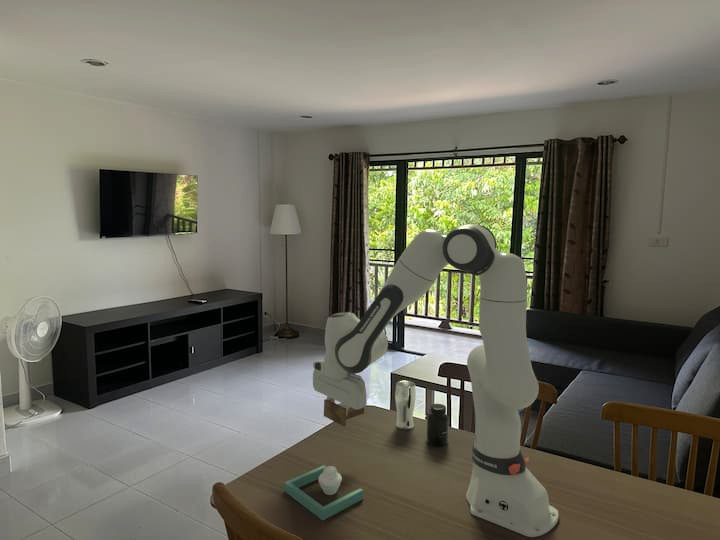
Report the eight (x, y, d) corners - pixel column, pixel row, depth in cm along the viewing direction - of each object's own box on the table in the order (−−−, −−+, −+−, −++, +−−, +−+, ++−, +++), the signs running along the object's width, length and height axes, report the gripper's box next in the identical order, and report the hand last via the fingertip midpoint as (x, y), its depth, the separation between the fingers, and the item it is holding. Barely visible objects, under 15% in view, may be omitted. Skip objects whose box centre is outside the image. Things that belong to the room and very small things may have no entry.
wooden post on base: (371, 416, 145) (371, 400, 144) (343, 426, 137) (344, 409, 137) (350, 407, 151) (351, 391, 151) (323, 416, 144) (324, 399, 143)
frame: (363, 499, 125) (363, 490, 125) (322, 520, 117) (322, 510, 116) (323, 473, 138) (323, 465, 137) (284, 491, 129) (284, 482, 128)
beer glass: (415, 430, 165) (416, 387, 163) (395, 430, 165) (396, 387, 163) (413, 421, 172) (414, 380, 170) (394, 421, 172) (394, 380, 170)
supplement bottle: (447, 448, 153) (448, 411, 151) (425, 445, 154) (426, 409, 153) (448, 438, 159) (449, 403, 158) (427, 436, 161) (428, 401, 159)
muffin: (319, 499, 125) (319, 473, 124) (317, 486, 131) (317, 461, 130) (343, 497, 126) (343, 471, 125) (340, 484, 132) (340, 459, 131)
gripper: (372, 375, 135) (370, 422, 136) (326, 357, 149) (324, 400, 151) (355, 379, 130) (354, 429, 132) (309, 361, 145) (308, 405, 147)
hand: (338, 413), depth 142 cm, fingers closed on wooden post on base, 3 cm apart
